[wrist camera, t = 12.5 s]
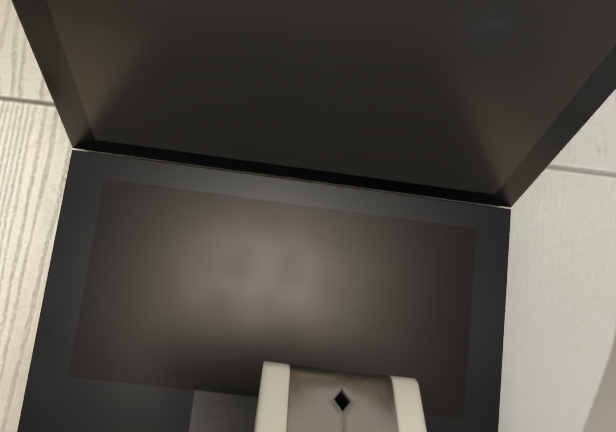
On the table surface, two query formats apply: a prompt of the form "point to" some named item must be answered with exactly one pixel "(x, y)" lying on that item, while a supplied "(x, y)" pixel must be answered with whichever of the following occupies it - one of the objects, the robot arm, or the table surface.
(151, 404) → the notebook
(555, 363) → the table surface
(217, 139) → the notebook screen
